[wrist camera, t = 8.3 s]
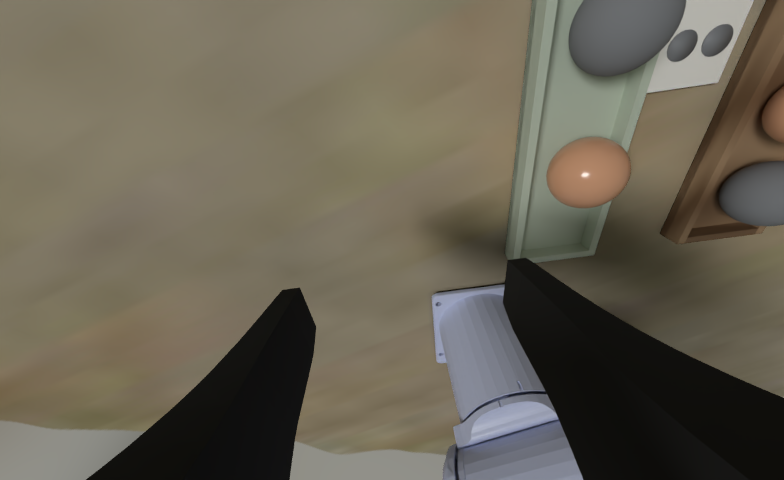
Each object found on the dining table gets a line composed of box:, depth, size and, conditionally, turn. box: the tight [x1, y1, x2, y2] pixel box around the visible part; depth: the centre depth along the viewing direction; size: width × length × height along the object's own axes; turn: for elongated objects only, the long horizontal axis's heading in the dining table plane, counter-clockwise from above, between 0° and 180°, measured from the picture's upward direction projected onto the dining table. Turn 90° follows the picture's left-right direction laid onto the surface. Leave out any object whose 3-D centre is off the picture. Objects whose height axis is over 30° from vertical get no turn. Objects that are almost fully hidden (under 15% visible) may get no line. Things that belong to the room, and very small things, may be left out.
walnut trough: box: [660, 0, 784, 244], centre depth 16 cm, size 18×6×2 cm, turn 7°
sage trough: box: [505, 0, 754, 263], centre depth 17 cm, size 18×11×2 cm, turn 7°
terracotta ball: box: [546, 137, 631, 208], centre depth 16 cm, size 4×4×4 cm
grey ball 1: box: [569, 0, 686, 77], centre depth 13 cm, size 4×4×4 cm
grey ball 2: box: [719, 161, 784, 226], centre depth 18 cm, size 4×4×4 cm
